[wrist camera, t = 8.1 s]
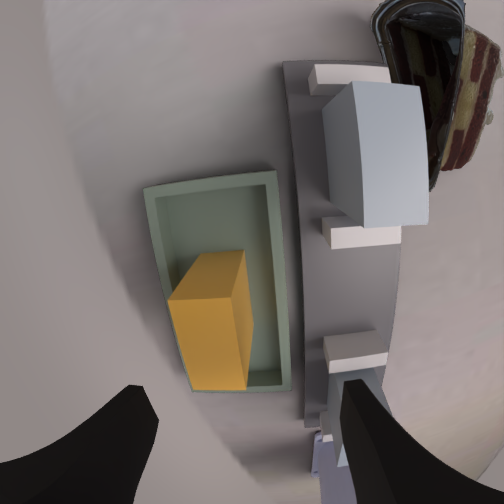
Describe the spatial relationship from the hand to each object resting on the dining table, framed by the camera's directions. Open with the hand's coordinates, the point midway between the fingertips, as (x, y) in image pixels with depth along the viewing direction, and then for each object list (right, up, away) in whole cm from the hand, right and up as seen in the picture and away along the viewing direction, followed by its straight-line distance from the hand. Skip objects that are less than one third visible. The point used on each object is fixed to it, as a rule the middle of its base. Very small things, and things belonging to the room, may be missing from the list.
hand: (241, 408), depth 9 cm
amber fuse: (-1, +3, +8) cm, 9 cm away
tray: (-1, +3, +9) cm, 9 cm away
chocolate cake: (+12, +15, +5) cm, 20 cm away
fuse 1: (+5, +11, +5) cm, 13 cm away
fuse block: (+6, +4, +8) cm, 11 cm away
